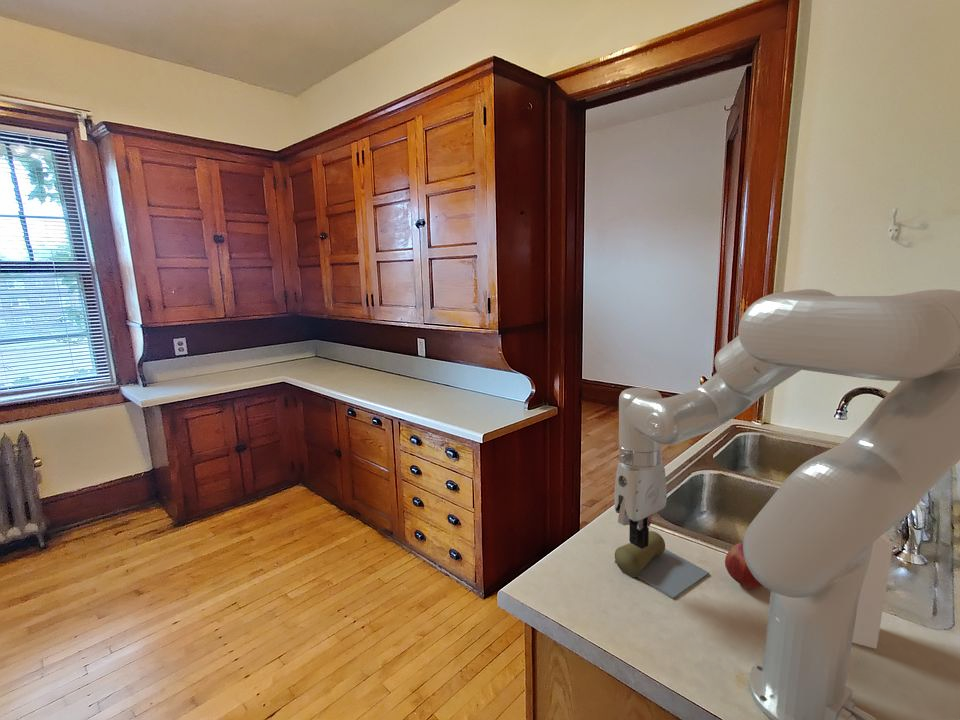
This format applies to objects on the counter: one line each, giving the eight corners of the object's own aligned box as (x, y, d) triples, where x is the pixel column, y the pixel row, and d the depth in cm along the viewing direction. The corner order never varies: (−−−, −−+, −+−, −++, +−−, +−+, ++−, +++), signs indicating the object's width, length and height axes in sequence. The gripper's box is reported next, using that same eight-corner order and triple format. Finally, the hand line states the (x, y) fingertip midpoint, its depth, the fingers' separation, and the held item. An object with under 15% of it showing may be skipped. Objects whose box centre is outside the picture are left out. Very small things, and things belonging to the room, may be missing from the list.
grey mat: (709, 574, 95) (709, 572, 95) (673, 599, 89) (673, 597, 88) (650, 542, 106) (650, 540, 106) (614, 562, 100) (614, 560, 100)
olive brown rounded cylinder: (641, 581, 93) (671, 558, 100) (638, 552, 93) (668, 531, 99) (616, 570, 98) (646, 549, 105) (612, 543, 98) (643, 523, 104)
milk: (831, 638, 78) (846, 518, 74) (824, 613, 84) (837, 500, 79) (877, 649, 76) (896, 526, 71) (867, 623, 81) (883, 507, 77)
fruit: (780, 590, 90) (785, 543, 88) (752, 604, 87) (757, 556, 84) (741, 567, 97) (745, 523, 95) (714, 579, 94) (717, 534, 92)
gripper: (629, 471, 80) (629, 568, 83) (682, 450, 88) (679, 539, 91) (596, 458, 86) (597, 549, 90) (648, 439, 94) (647, 523, 98)
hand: (638, 544), depth 90 cm, fingers closed
